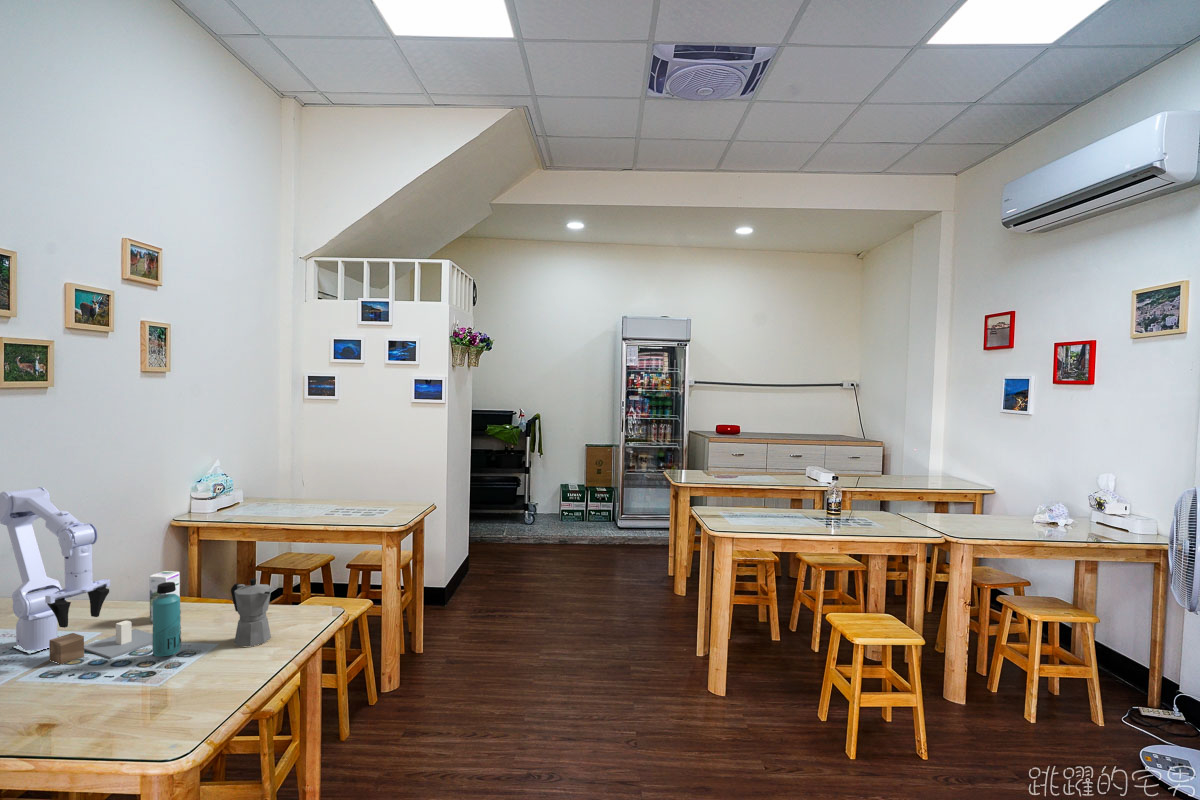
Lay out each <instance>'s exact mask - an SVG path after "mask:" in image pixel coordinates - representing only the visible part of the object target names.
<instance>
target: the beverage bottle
mask: <svg viewBox="0 0 1200 800" xmlns="http://www.w3.org/2000/svg"><path fill="white" fill-rule="evenodd" d="M175 590H176V587H175V583H174V582H165V583H161V584H159V585H158V587H157V593H158V594H164V595H160V596H158V597H157V598H156V599H155V600H154V601H153V602H152V604H153V622H152V634H153V641H152V642H153V644H151V646H152V655H153V656H154V657H168V656H171V655H172V656H173V655H174V654H177V653H178V652H180V650H181V648H182V631H181V630H182V627H181V619H182V616H181V613H182V610H181V597H179V596H178V595H176V594H165V593H170V592H173V591H175Z"/></svg>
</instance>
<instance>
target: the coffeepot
mask: <svg viewBox="0 0 1200 800" xmlns="http://www.w3.org/2000/svg"><path fill="white" fill-rule="evenodd" d="M256 582H257V578H251V579H249V583H250V584H249V585H248V584H247V585H246V584H243V583H241V584H240V583H238V582H237V583H234V584H233V585H232V587H231V588H230V593H231V597H232V602H233V606H234V610H235V612H237V614H238V616H239V619H238V621H237V627H236V631H235V637H234V644H235V646H237V647H239V646H253V647H255V646H254V645H258V644H261V643H264V644H265V642H266V641H267V640H269V641H270V639H271V638H272V636H271V630H270V625H269V619H268V617H267V611H268V610H269V606H270V600H271V593H272V586H270V585H269V584H268V583H267V584H266V583H265V584H262V583H260V584H259V583H256ZM267 642H268V641H267ZM267 642H266V643H267ZM261 645H262V644H261ZM258 646H259V645H258Z"/></svg>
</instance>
